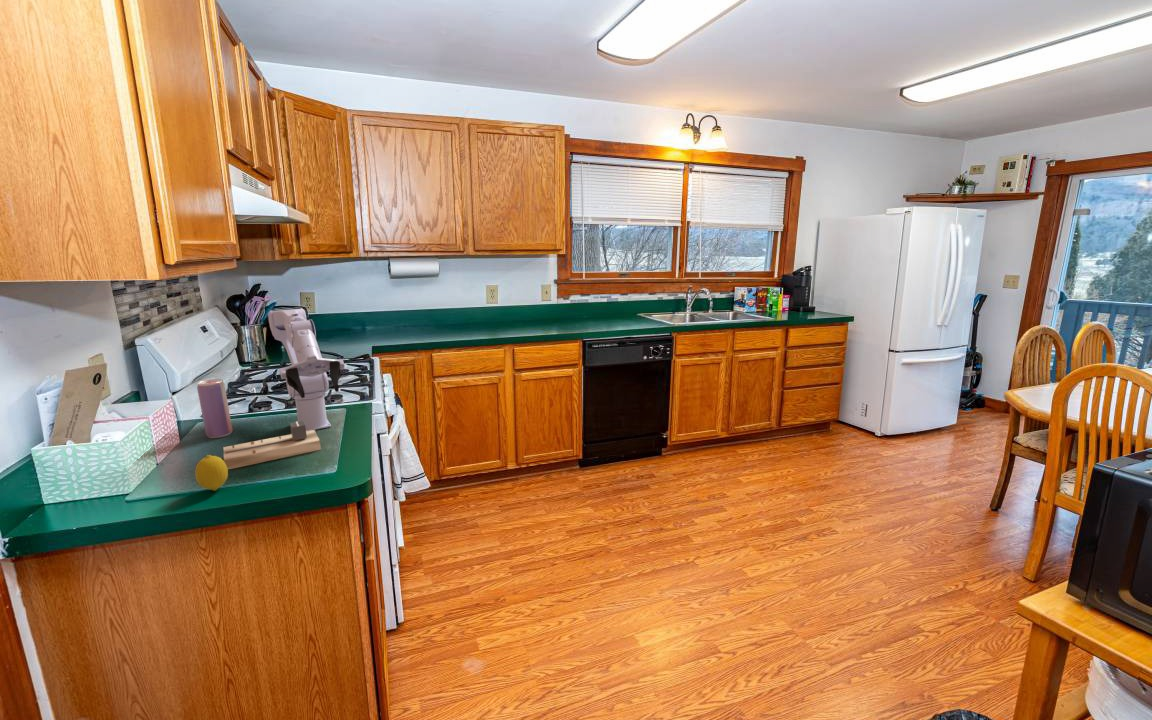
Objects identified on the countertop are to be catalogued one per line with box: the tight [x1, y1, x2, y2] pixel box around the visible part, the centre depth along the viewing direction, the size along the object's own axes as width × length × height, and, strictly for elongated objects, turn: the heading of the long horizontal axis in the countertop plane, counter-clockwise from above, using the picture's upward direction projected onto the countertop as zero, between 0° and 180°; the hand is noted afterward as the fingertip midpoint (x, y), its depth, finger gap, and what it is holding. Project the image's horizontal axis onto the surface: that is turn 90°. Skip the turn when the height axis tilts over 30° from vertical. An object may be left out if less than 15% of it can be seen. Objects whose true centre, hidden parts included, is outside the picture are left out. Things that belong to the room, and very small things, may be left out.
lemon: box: [194, 454, 229, 492], centre depth 108 cm, size 6×6×8 cm
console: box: [223, 430, 322, 470], centre depth 127 cm, size 9×20×3 cm, turn 124°
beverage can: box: [196, 378, 233, 439], centre depth 138 cm, size 6×6×15 cm
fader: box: [289, 421, 307, 441], centre depth 129 cm, size 4×3×4 cm
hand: (320, 392), depth 126 cm, fingers open, 7 cm apart
